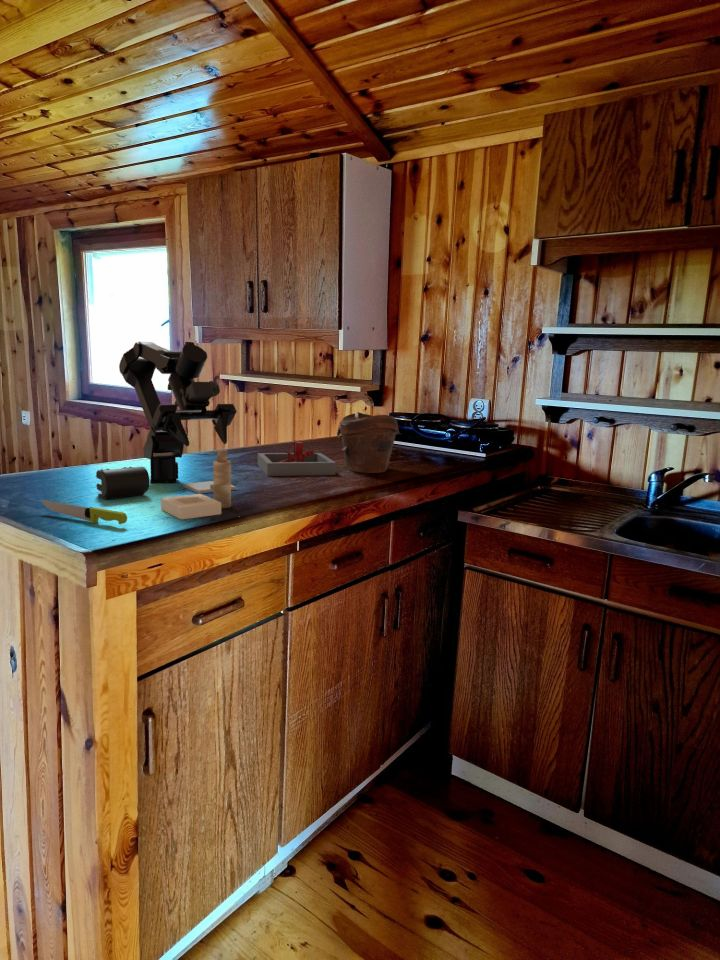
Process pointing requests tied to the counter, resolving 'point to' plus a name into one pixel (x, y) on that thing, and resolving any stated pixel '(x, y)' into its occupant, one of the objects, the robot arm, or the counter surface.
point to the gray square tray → (295, 465)
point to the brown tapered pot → (367, 441)
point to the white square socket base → (190, 506)
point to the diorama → (298, 453)
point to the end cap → (122, 482)
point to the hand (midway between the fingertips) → (207, 444)
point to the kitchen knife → (86, 512)
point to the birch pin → (222, 479)
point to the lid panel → (202, 487)
